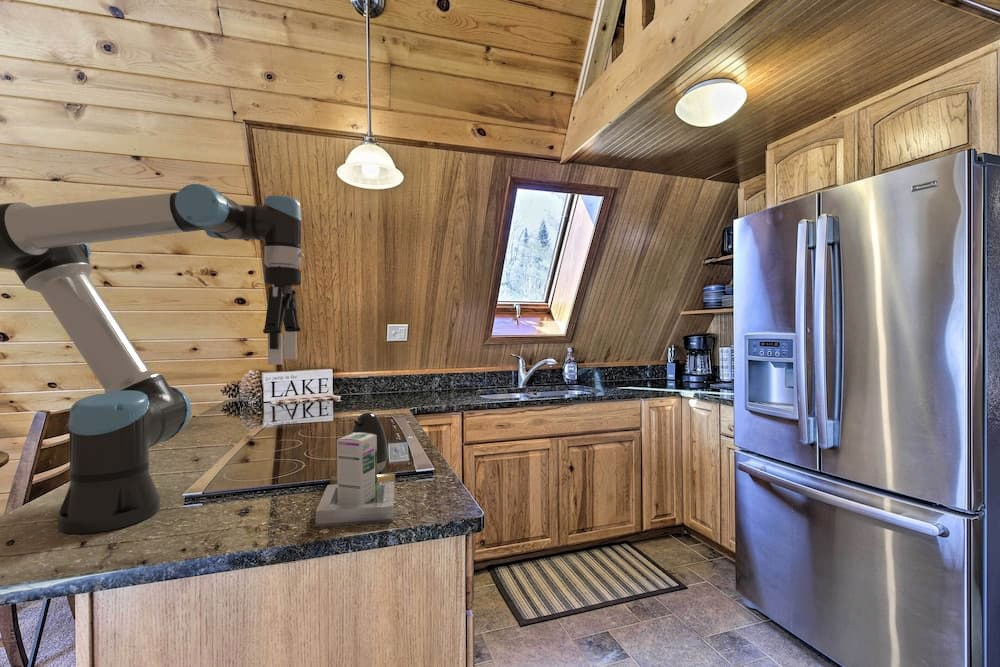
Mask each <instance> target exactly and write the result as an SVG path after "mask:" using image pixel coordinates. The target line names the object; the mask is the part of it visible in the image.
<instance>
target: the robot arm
mask: <svg viewBox="0 0 1000 667" xmlns="http://www.w3.org/2000/svg"><path fill="white" fill-rule="evenodd" d="M301 211H302V210H301V203H300V202H299V201H298V200H297V199H295V197H294V198H293V197H290V196H286V195H276V194H275V195H268V196H266V197H265V198H264V202H263V204H262V205H252V204H251V205H250V204H248V205H247V204H239V203H237V202H236V201H233V200H231V199H230V198H229V197H227V196H226V195H223V194H222V193H221V192H220V191H219V190H216V189H215V188H213V187H209V186H207V185H204V184H200V183H191V184H187V185H186V186H184V187H182V188H181V189H179V191H178V192H176V191H175V192H167V193H158V194H147V195H139V196H130V197H129V196H128V197H121V198H120V197H119V198H111V199H110V198H109V199H107V198H106V199H98V200H89V201H88V200H87V201H80V202H79V201H77V202H67V203H58V204H47V205H38V206H32V205H30V204H28V203H25V202H19V201H18V202H17V201H16V202H10V203H9V202H8V203H0V269H4V270H12V271H14V272H15V274H16V275H17V277H18V278H19V280H20V282H21V283H22V284H23V286H24V287H25V288H26V289H27V290H28V291H29V290H30V291H33V292H37V293H40V295H41V296H42V298H43V299H44V301H45V302H46V303H47V305H48V307H49V308H50V309H51V311H52V312H53V315H54V316H55V317H56V319H57V320H58V322H59V323H60V325H61V326H62V328H63V329H64V331H65V332H66V334H67V335H68V336H69V338H70V340H71V342H72V343H73V344H74V346H75V348H76V349H77V351H78V352H79V353H80V355H81V356H82V358H83V359H84V361H85V362H86V364H87V365H88V367H89V369H90V370H91V371H92V373H93V374H94V376H95V377H96V379H97V381H98V382H99V383H100V385H101V386H102V388H103V390H104V393H96V394H92V395H88V396H86V397H83V398H80V399H79V400H77V401H75V402H74V403H73V404H72V405H71V407H70V409H69V419H68V423H67V428H68V432H69V433H68V436H69V474H70V476H69V477H70V478H69V480H70V482H69V486H68V489H67V492H66V494H65V496H64V499H63V502H62V504H61V507H60V509H59V512H58V514H57V515H58V516H57V529H58V530H59V531H60V532H62V533H66V534H74V535H77V534H78V535H81V534H82V535H83V534H95V533H102V532H108V531H112V530H117V529H121V528H125V527H127V526H131V525H132V526H133V525H135V524H137V523H140V522H143V521H144V520H147V519H149V518H150V517H151V518H152V516H154V515H155V514H157V513H158V512H159V510H161V500H160V499H161V498H160V494H159V492H158V490H157V487H156V485H155V483H154V480H153V478H152V475H151V473H150V467H149V465H150V463H149V462H150V461H149V451H150V450H149V448H151V447H153V446H156V445H158V444H160V443H163V442H167V441H168V440H170V439H172V438H174V437H176V436H177V434H179V433H180V432H182V431H183V430H184V429H185V428H186V427H187V426H188V423H189V422H190V419H191V415H192V405H191V401H190V399H189V397H188V395H187V394H186V393H185V392H184V391H182V390H181V389H179V388H176V387H174V386H172V385H171V386H170V384H168V382H167V380H166V379H165V377H164V376H163V374H162V373H159V372H155V371H152V370H150V368H148V366H147V363H146V362H145V361H144V359H143V358H142V356H141V355H140V353H139V352H138V350H137V349H136V347H135V346H134V344H133V342H132V341H131V339H130V338H129V337H128V335H127V333H126V331H125V330H124V329H123V327H122V326H121V324H120V323H119V320H117V318H116V316H115V314H113V312H112V310H111V308H110V307H109V305H108V304H107V303H106V301H105V299H104V298H103V296H102V295H101V293H100V292H99V290H98V289H97V287H96V286H95V284H94V283H93V281H92V280H91V278H90V276H91V274H92V272H93V266H92V264H91V263H90V259H91V258H90V255H91V254H92V252H91V250H92V249H91V247H90V244H92V243H93V244H94V243H102V242H111V241H118V240H119V241H120V240H128V239H136V238H138V239H139V238H144V237H152V236H153V237H154V236H161V235H162V236H163V235H172V234H180V233H189V232H198V231H204V232H205V234H206V235H207V237H209V238H212V239H219V240H220V239H222V240H227V241H228V240H251V241H252V240H257V241H264V249H263V250H264V253H263V255H264V256H263V258H264V259H263V260H264V263H263V264H264V265H265V266H267V267H265V268H264V283H265V285H271V286H269V288H268V300H267V307H266V308H267V309H266V313H265V315H266V316H265V322H264V328H263V329H262V332H263V334H267V365H269V366H270V365H276V366H277V365H283V360H297V356H298V355H297V352H298V351H297V350H298V349H297V347H298V346H297V341H298V340H297V333H298V332H301V327H300V325H299V320H298V307H297V298H296V297H297V296H296V294H297V293H296V290H293V289H292V286H293V287H294V286H295V287H296V286H297V287H298V286H300V285H301V284H302V270H301V269H300V267H302V259H301V258H304V256H305V255H304V253H302V222H303V220H302V212H301ZM283 325H284V330H285V331H283V333H282V329H283Z"/></svg>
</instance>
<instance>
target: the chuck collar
mask: <svg viewBox="0 0 1000 667" xmlns="http://www.w3.org/2000/svg"><path fill="white" fill-rule="evenodd" d="M320 498H321V499H320V501H319V503H318V505H317V507H316V510H315V527H316V528H323V527H333V526H334V527H335V526H351V525H352V526H353V525H365V524H378V523H381V524H382V523H393V522H394V511H395V510H394V507H395V487H394V481H393V482H377V503H374V504H357V505H341V506H338V484H335V485H330V484H327V485H326V488H325V490H324V491H323V494H322V496H321V497H320Z"/></svg>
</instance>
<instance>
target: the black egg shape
mask: <svg viewBox="0 0 1000 667" xmlns="http://www.w3.org/2000/svg"><path fill="white" fill-rule="evenodd" d="M352 433H371V434H376V435H377V474H380V472H382V471H383V470H384V468H385V467H386V464H387V461H388V459H389V448H388V443H387V438H386V437H387V436H386V434H385V430H384V428H383V425H382V423H381V421H380V419H379V417H378V416H377V415H376V414H375V413H373V412H364V413H362V414H360V415H359V416H357V418H356V419H355V420H354V421H353V425H352V429H351V432H350V434H352Z"/></svg>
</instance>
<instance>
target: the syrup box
mask: <svg viewBox="0 0 1000 667" xmlns="http://www.w3.org/2000/svg"><path fill="white" fill-rule="evenodd" d="M336 449H337V450H336V451H337V452H336V460H337V461H336V466H337V468H336V472H337V476H336V477H337V478H338V506H341V505H357V504H374V503H377V475H378V473H377V435H376V434H371V433H352V434H351V433H350V434H348V435H346V436H343V437H340V438H337V439H336Z"/></svg>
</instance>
